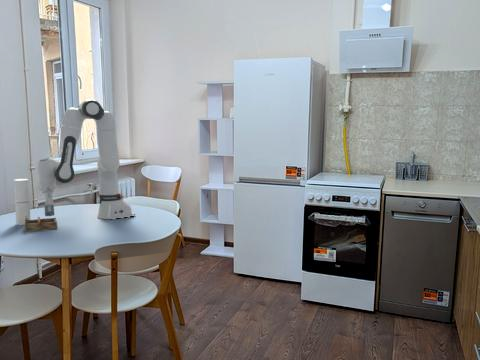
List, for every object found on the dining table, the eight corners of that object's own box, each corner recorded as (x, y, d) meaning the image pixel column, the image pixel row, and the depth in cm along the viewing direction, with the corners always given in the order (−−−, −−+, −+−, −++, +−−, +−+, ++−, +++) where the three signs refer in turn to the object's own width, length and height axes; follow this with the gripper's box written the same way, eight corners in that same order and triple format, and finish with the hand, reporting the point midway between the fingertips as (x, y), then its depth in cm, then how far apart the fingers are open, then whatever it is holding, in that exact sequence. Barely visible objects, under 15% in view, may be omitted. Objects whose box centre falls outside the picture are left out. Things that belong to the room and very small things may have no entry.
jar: (54, 213, 238) (53, 202, 237) (54, 215, 234) (54, 204, 233) (44, 214, 236) (43, 203, 235) (44, 216, 232) (44, 205, 231)
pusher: (40, 225, 223) (39, 216, 222) (40, 228, 217) (40, 219, 216) (37, 225, 222) (37, 217, 222) (38, 228, 216) (37, 220, 215)
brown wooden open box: (56, 224, 228) (55, 213, 227) (57, 229, 219) (56, 217, 218) (26, 227, 221) (25, 215, 220) (25, 232, 212) (25, 219, 211)
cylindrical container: (24, 225, 225) (22, 180, 222) (13, 224, 227) (10, 180, 223) (33, 222, 232) (31, 179, 229) (22, 221, 233) (20, 178, 230)
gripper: (54, 188, 225) (56, 213, 227) (52, 183, 243) (54, 206, 245) (42, 189, 222) (43, 214, 224) (41, 184, 240) (42, 207, 242)
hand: (49, 210), depth 235 cm, fingers closed on jar, 5 cm apart
